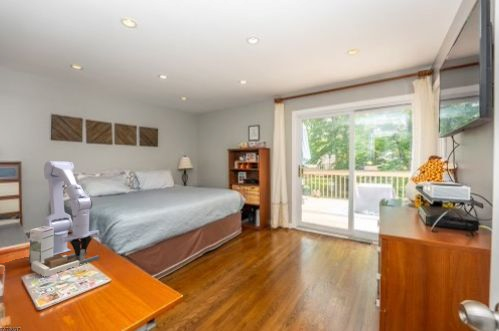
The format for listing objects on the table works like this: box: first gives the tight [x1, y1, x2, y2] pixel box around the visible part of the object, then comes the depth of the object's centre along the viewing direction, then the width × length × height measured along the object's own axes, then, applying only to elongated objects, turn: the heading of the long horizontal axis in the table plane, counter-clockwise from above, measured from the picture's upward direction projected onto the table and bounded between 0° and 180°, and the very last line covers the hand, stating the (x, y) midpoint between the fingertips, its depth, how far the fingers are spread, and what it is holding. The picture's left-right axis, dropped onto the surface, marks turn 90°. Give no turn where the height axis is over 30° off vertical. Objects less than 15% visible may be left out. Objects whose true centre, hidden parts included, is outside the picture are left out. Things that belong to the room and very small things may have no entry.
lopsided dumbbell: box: [44, 247, 86, 269], centre depth 95 cm, size 6×12×5 cm, turn 152°
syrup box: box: [29, 226, 54, 264], centre depth 98 cm, size 6×6×14 cm
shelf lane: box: [30, 254, 79, 278], centre depth 92 cm, size 12×12×3 cm
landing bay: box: [66, 250, 100, 266], centre depth 101 cm, size 12×8×2 cm, turn 62°
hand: (80, 254), depth 100 cm, fingers closed on lopsided dumbbell
